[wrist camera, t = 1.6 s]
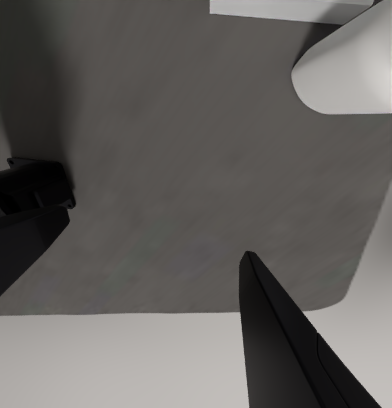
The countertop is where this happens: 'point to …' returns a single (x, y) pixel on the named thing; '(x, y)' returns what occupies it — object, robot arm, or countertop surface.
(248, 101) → the countertop surface
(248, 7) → the square tray
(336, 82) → the eye dropper bottle
